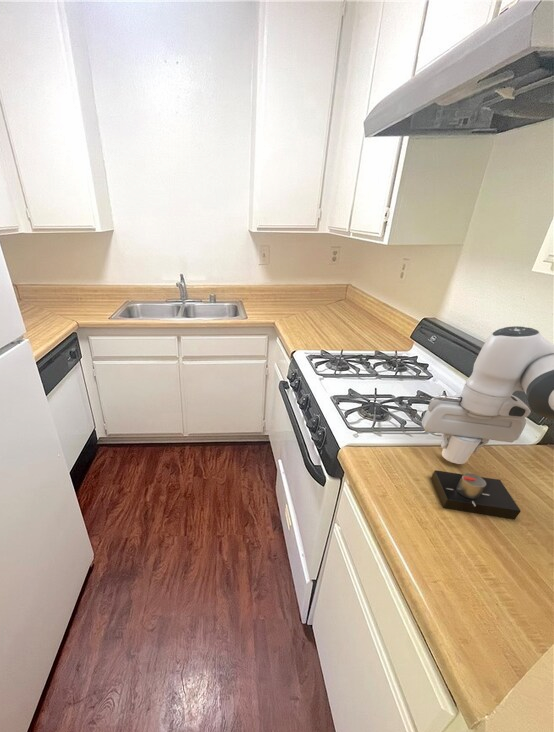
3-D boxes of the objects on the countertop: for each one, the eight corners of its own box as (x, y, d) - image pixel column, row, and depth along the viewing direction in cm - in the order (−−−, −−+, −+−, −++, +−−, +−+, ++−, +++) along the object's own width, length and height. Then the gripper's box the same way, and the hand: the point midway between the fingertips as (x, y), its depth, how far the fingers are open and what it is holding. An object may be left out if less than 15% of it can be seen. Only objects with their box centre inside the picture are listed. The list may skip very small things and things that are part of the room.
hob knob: (474, 487, 76) (482, 473, 74) (482, 500, 73) (490, 487, 71) (453, 483, 77) (460, 470, 75) (459, 497, 74) (467, 483, 71)
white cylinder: (441, 461, 85) (452, 438, 81) (436, 446, 91) (447, 424, 87) (472, 468, 83) (485, 444, 79) (466, 452, 89) (477, 429, 85)
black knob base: (494, 489, 81) (500, 479, 79) (515, 524, 72) (523, 513, 70) (430, 479, 83) (434, 469, 81) (443, 512, 74) (449, 501, 72)
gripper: (437, 400, 77) (416, 450, 85) (539, 412, 74) (508, 463, 81) (429, 388, 82) (410, 436, 90) (525, 398, 79) (497, 447, 86)
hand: (458, 449), depth 86 cm, fingers closed on white cylinder, 5 cm apart
